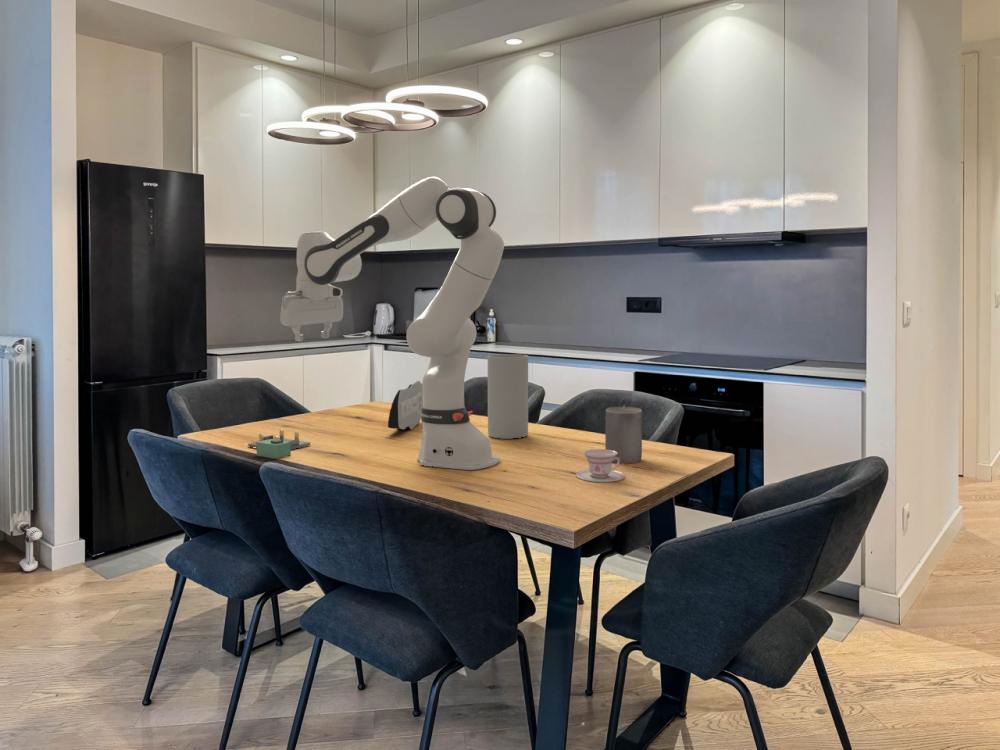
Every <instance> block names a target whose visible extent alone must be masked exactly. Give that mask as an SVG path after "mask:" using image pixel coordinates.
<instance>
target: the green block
mask: <svg viewBox="0 0 1000 750" xmlns="http://www.w3.org/2000/svg"><path fill="white" fill-rule="evenodd" d="M255 442H256V448H257V449H256V448H255V449H256V456H258V457H263V458H267V459H274V458H279V459H281V458H280V457H283V458H285V457H284V456H287V457H289V456H288V455H291V456H292V453H291V451H292V450H291V448H290V442H287V441H283V440H279V439H276V440H274V439H268V440H264V441H259V440H258V441H255Z"/></svg>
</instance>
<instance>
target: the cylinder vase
mask: <svg viewBox="0 0 1000 750" xmlns="http://www.w3.org/2000/svg"><path fill="white" fill-rule="evenodd" d="M487 434H488V436H489V437H490V438H492V437H493V439H497V438H500V439H499V440H514V439H513V438H519V439H522V438H521V437H524V438H526V437H527V436H528V434H529V355H527V354H515V353H514V354H513V353H510V354H509V353H504V354H503V353H501V354H500V353H499V354H489V355H487ZM525 436H526V437H525Z"/></svg>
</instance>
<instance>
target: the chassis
mask: <svg viewBox="0 0 1000 750" xmlns="http://www.w3.org/2000/svg"><path fill="white" fill-rule="evenodd" d="M293 433H294V439H290V438H285V431H284V429H279V436H278V435H272V434H271V435H265V436H264V433H259V434H258V442H259V441H264V440H268V439H274V440H276V439H279V440H283V441H287V442H290V448H291V451H293V450H292V449H295V450H297V449H296V448H299V449H301V448H300V447H303V448H306V447H305V446H308V447H310V446H311V442H308V441H303V440H300V436H299V435H300V433H299V431H294V432H293ZM256 442H257V441H254V442H251V443H248V444H247V447H248V446H251V447H256ZM309 445H310V446H309Z"/></svg>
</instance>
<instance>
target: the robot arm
mask: <svg viewBox="0 0 1000 750" xmlns="http://www.w3.org/2000/svg"><path fill="white" fill-rule="evenodd" d="M496 217H497V208H496V204H495V203H494V201H493V199H492V198H491V197H490V196H488V194H486V193H485V192H481V191H477V190H475V189H473V188H466V187H465V188H464V187H452V188H449V186H448V184H447V183H446V182H445V181H444V180H442V179H441V178H439V177H436V176H428V177H426V178H423V179H421V180H419V181H417V182H415V183H414V184H411V186H409V187H407V188H405V190H402V192H400V193H399V194H397V195H396V196H394V198H392V199H391V200H390V201H388V202H387V203H386V204H385V205H383V206H382V207H381V208H380V209H378V210H377V211H376V212H374V213H373V214H371V215H370V216H368V218H367V219H365V220H363V221H362V222H360V223H359V224H357V225H355V226H354V227H353V228H351V229H349V230H348V231H347V232H345V233H344V234H342V235H340V236H339V237H338V238H336V239H334V238H332V237H331V236H330V235H329V233H327V232H326V231H317V230H316V231H308V232H304V233H302V234H300V235H299V238H298V241H297V246H296V266H297V275H296V283H295V284H296V285H295V286H296V288H295V289H296V290H295V291H287V292H286V293H285V294H283V296H282V300H281V301H282V302H281V307H280V308H281V309H280V317H279V320H280V323H281V325H282V326H285V327H291V331H292V332H293V334H294V340H295V342H303V341H304V334H302V333H301V331H300V330H301V329H302V328H301V326H306V325H314V324H323V325H324V327H323V330H322V331H320V337H321V338H322V339H328V338H329V337H330V332H331V329H332V327H333V323H335V322H341V321H342V319H343V317H344V301H343V298H342V296H343V289H342V288H340V287H337V286H335V285H332V283H339V282H347V281H351V280H353V279H355V278H357V277H358V276H359V275H360V273H361V272H362V268H363V260H362V259H363V258H362V256H361V254H362V253H364V252H365V251H367V250H369V249H370V248H372V247H375V246H378V245H379V246H380V245H381V244H386V243H393V242H400V241H405V240H408V239H410V238H412V237H414V236H417V235H418V234H420V233H421V232H423V231H425V230H426V229H427V228H428V227H430V226H431V225H432V224H434V223H436V222H437V221H438V222H440V224H441V225H442V226H443V227H444V228H445V229H446V230H447V231H448V232H449V233H450V234H451V235H452V236H453V237H454V238H455V239H456V240H460V247H459V250H458V252H457V254H456V256H455V258H454V260H453V262H452V265H451V266H450V269H449V271H448V273H447V275H446V277H445V278H444V281H443V283H442V285H441V287H440V288H439V290H438V291H437V293H436V294H435V296H434V297H433V298H432V300H431V301H430V302H429V304H428V305H427V306H426V308H425V309H424V310H423V311H422V313H421V314H420V315H419V316H418V317H417V318H416V319H415V320H413V321H412V322H411V323H410V324H409V326H408V327H407V330H406V342H407V345H408V347H409V349H410V350H411V351H412V353H415V354H416V355H419V356H422V357H426V358H430V360H429V363H428V367H427V370H426V371H425V373H424V375H423V377H422V382H421V383H422V384H423V407H422V408H421V419H420V421H421V423H422V427H421V428H422V432H421V440H420V447H419V452H418V456H417V461H418V462H419V465H420V466H422V465H424V466H423V467H432V466H433V467H434V468H445V469H455V470H464V471H465V470H466V471H473V470H474V471H475V470H480V469H485V468H489V467H492V466H495V465H497V464H499V463H500V462H501V457H500V456H498V455H493V454H492V447H491V445H492V444H491V442H490V439H489V438H488V436H486V435H485V434H484V433H483V432H482V431H481V430H480V429H478V427H477V426H476V425H474V424H473V423H472V422H471V419H470V416H473V415H474V414H473V412H474V411H473V410H470V411H468V410H467V408H466V406H465V377H466V376H465V375H466V371H467V366H468V360H469V357H470V351H471V349H472V347H473V345H474V343H475V341H476V339H477V335H478V333H477V327H476V325H475V323H474V321H473V320H471V318H470V317H471V315H472V314H473V313H474V312H475V311H476V310H478V308H479V307H480V306H481V305H482V302H483V300H484V298H485V297H486V294H487V292H488V290H489V288H490V286H491V284H492V283H493V280H494V277H495V276H496V273H497V271H498V269H499V266H500V263H501V260H502V257H503V252H504V249H505V243H504V240H503V238H502V236H501V235H500V234H498V232H497V231H495V230H493V229H492V228H490V227H492V226H493V224H494V223H495V221H496Z"/></svg>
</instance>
